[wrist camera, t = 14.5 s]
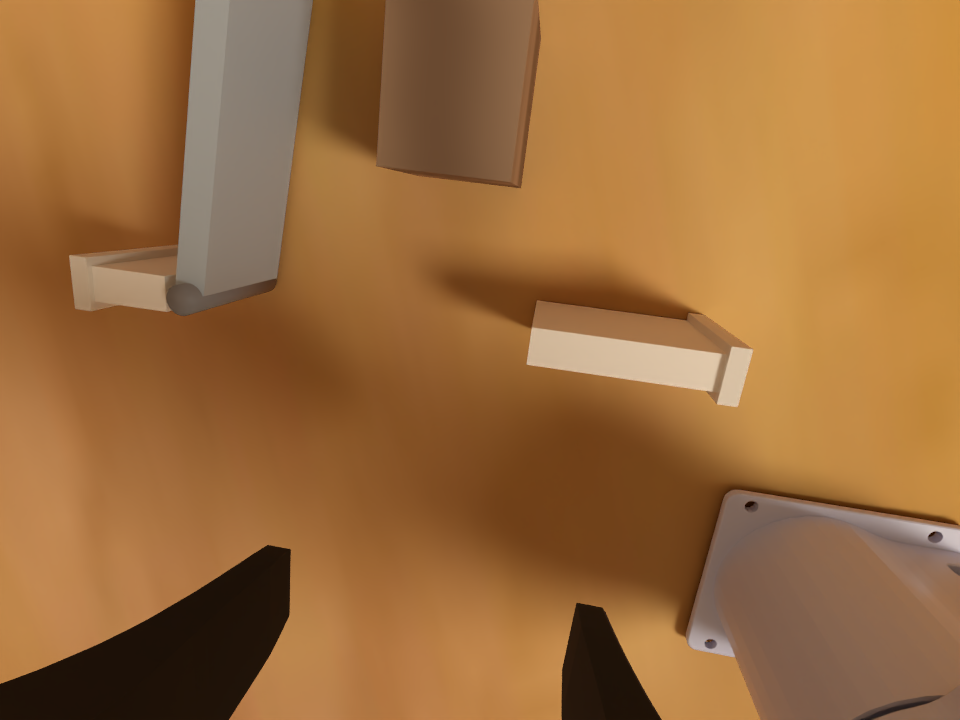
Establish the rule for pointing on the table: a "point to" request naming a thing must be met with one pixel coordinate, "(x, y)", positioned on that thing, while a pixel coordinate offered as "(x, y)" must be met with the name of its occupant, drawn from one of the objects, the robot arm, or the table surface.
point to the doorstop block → (458, 88)
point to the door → (238, 148)
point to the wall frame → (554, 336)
